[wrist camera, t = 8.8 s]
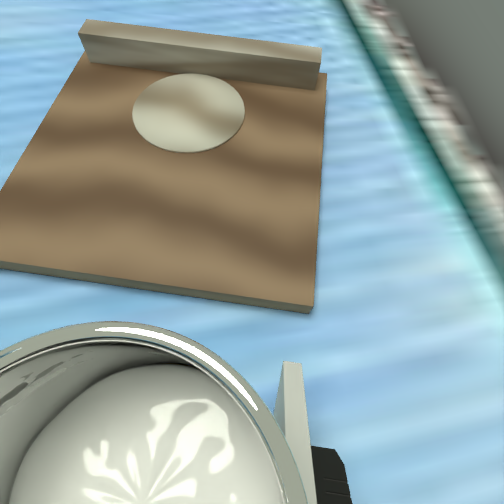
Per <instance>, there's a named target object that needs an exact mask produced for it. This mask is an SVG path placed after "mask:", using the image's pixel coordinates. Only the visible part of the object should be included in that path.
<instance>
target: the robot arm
mask: <svg viewBox="0 0 504 504" xmlns="http://www.w3.org/2000/svg"><path fill="white" fill-rule="evenodd" d="M274 418H275V420H276V422H277V423H278V425H279V427H280V429H281V431H282V433H283V435H284V436H285V439H286V441H287V443H288V445H289V447H290V449H291V452H292V454H293V457H294V459H295V462H296V464H297V467H298V470H299V473H300V476H301V479H302V482H303V486H304V490H305V493H306V497H307V501H308V504H352V500H351V498H350V491H349V486H348V484H347V476H346V472H345V467H344V464H343V462H342V460H341V459H340V457H339V455H338V454H337V452H336V451H335V449H329V448H322V447H316V446H311V445H310V436H309V427H308V418H307V409H306V400H305V392H304V383H303V374H302V365H301V363H294V362H288V361H283V365H282V371H281V376H280V382H279V387H278V393H277V398H276V403H275V409H274Z"/></svg>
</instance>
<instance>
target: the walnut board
mask: <svg viewBox="0 0 504 504" xmlns="http://www.w3.org/2000/svg"><path fill="white" fill-rule="evenodd" d="M78 35H79V37H80V39H81V42H82V44H83V47H84V49H85V51H84V53H83V55H82V56H81V58H80V60H79V61H78V63H77V65H76V66H75V68H74V70H73V71H72V73H71V75H70V76H69V78H68V80H67V81H66V83H65V84H64V86H63V88H62V89H61V91H60V93H59V94H58V96H57V98H56V99H55V101H54V103H53V104H52V106H51V108H50V109H49V111H48V113H47V114H46V116H45V118H44V119H43V121H42V123H41V124H40V126H39V128H38V129H37V131H36V133H35V134H34V136H33V138H32V139H31V141H30V143H29V144H28V146H27V148H26V149H25V151H24V152H23V154H22V156H21V157H20V159H19V161H18V162H17V164H16V166H15V167H14V169H13V171H12V172H11V174H10V176H9V177H8V179H7V181H6V182H5V184H4V186H3V187H2V189H1V191H0V268H1V269H8V270H15V271H22V272H28V273H35V274H42V275H49V276H56V277H62V278H69V279H76V280H83V281H90V282H96V283H103V284H110V285H117V286H124V287H130V288H137V289H144V290H151V291H158V292H164V293H171V294H178V295H185V296H192V297H198V298H205V299H212V300H219V301H226V302H232V303H239V304H246V305H253V306H260V307H266V308H273V309H280V310H287V311H294V312H300V313H307V314H309V313H310V311H311V309H312V308H313V305H314V288H315V271H316V254H317V237H318V220H319V203H320V186H321V169H322V151H323V134H324V117H325V100H326V83H327V73H319V69H320V64H321V54H322V48H319V47H311V46H303V45H294V44H286V43H278V42H270V41H262V40H253V39H245V38H237V37H229V36H221V35H212V34H204V33H196V32H188V31H180V30H172V29H163V28H155V27H147V26H139V25H131V24H122V23H114V22H106V21H98V20H90V19H86V21H85V23H84V24H83V26H82V27H81V29H80V30H79V32H78Z"/></svg>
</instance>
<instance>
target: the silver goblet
mask: <svg viewBox="0 0 504 504" xmlns="http://www.w3.org/2000/svg"><path fill="white" fill-rule="evenodd" d="M0 504H308V501H307V497H306V493H305V490H304V486H303V482H302V479H301V476H300V473H299V470H298V467H297V464H296V462H295V459H294V457H293V454H292V452H291V449H290V447H289V445H288V443H287V441H286V439H285V436H284V435H283V433H282V431H281V429H280V427H279V425H278V423H277V422H276V420H275V418H274V416H273V415H272V413H271V412H270V410H269V409H268V407H267V406H266V404H265V403H264V401H263V400H262V399H261V397H260V396H259V395H258V394H257V392H256V391H255V390H254V389H253V387H252V386H251V385H250V384H249V383H248V382H247V381H246V380H245V378H244V377H243V376H242V375H241V374H240V373H239V372H237V371H236V370H235V369H234V368H233V367H232V366H231V365H230V364H229V363H227V362H226V361H225V360H224V359H222V358H221V357H220V356H218V355H217V354H215V353H214V352H213V351H211V350H210V349H208V348H206V347H205V346H203V345H201V344H199V343H198V342H196V341H194V340H192V339H190V338H187V337H185V336H183V335H180V334H178V333H175V332H172V331H170V330H166V329H163V328H160V327H155V326H151V325H146V324H140V323H132V322H118V321H104V322H91V323H83V324H76V325H71V326H66V327H62V328H57V329H54V330H50V331H47V332H44V333H41V334H37V335H35V336H32V337H29V338H27V339H24V340H22V341H20V342H17V343H15V344H13V345H11V346H9V347H7V348H5V349H3V350H1V351H0Z"/></svg>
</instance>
